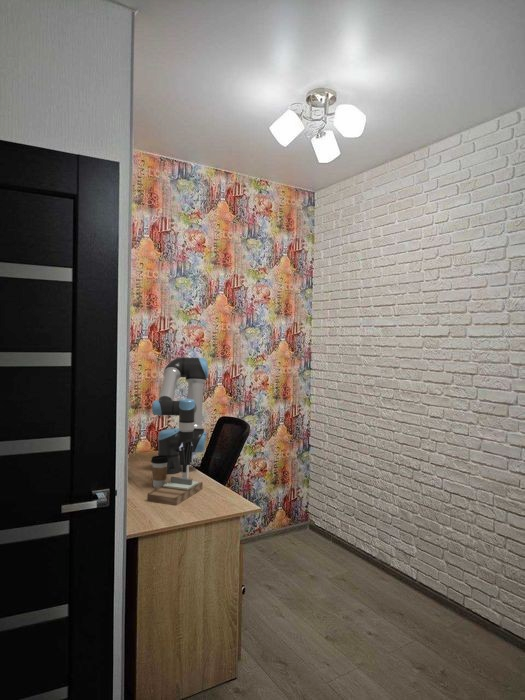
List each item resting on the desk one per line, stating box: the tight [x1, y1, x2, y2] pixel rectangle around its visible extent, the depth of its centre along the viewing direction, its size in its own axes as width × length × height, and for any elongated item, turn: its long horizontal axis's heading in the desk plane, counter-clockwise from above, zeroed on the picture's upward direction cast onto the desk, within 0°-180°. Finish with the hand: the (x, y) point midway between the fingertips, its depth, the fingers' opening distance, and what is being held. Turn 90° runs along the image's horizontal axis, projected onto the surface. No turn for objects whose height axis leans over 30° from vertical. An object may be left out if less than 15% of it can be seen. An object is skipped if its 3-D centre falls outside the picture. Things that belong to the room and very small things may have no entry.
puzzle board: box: [146, 481, 204, 506], centre depth 229 cm, size 26×15×4 cm, turn 161°
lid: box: [163, 476, 200, 490], centre depth 234 cm, size 12×13×3 cm
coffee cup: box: [150, 455, 168, 489], centre depth 242 cm, size 8×8×15 cm
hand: (185, 478), depth 238 cm, fingers closed
